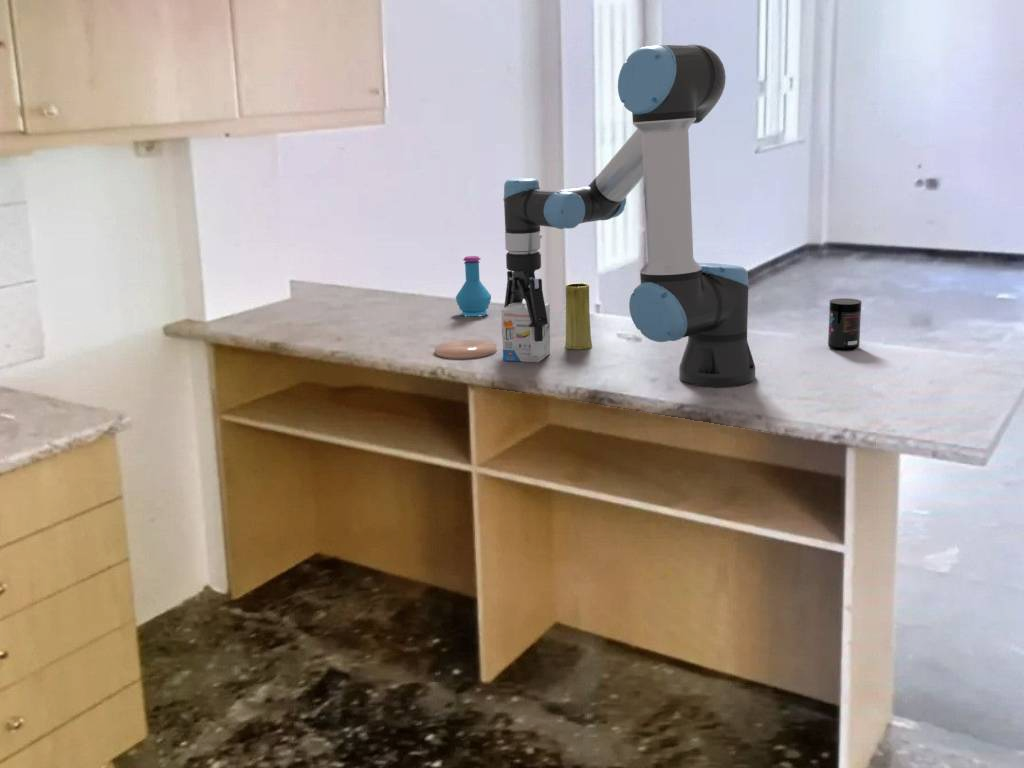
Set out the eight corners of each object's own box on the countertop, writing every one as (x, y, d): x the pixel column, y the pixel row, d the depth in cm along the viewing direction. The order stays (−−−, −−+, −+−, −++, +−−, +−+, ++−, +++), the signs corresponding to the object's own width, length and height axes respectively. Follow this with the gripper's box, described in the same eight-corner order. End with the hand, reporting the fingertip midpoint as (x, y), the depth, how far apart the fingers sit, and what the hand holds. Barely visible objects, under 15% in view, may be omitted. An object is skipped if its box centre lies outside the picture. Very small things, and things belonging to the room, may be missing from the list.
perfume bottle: (491, 317, 298) (488, 259, 294) (455, 318, 298) (452, 260, 295) (492, 309, 307) (490, 253, 303) (457, 311, 307) (454, 254, 303)
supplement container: (844, 343, 259) (846, 297, 256) (866, 348, 253) (868, 301, 250) (821, 347, 256) (822, 300, 253) (842, 353, 250) (844, 305, 247)
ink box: (501, 360, 253) (499, 308, 250) (514, 351, 261) (513, 300, 258) (539, 363, 251) (537, 309, 247) (551, 353, 258) (549, 302, 255)
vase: (590, 350, 260) (589, 287, 256) (563, 350, 261) (561, 287, 257) (593, 344, 266) (592, 282, 262) (567, 343, 267) (565, 282, 263)
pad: (505, 354, 259) (505, 349, 259) (446, 361, 254) (446, 357, 254) (483, 341, 272) (483, 337, 272) (426, 348, 267) (426, 344, 267)
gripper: (562, 257, 240) (564, 358, 246) (518, 242, 262) (521, 336, 267) (528, 260, 238) (531, 363, 243) (487, 245, 259) (491, 340, 265)
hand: (526, 349), depth 255 cm, fingers closed on ink box, 11 cm apart
